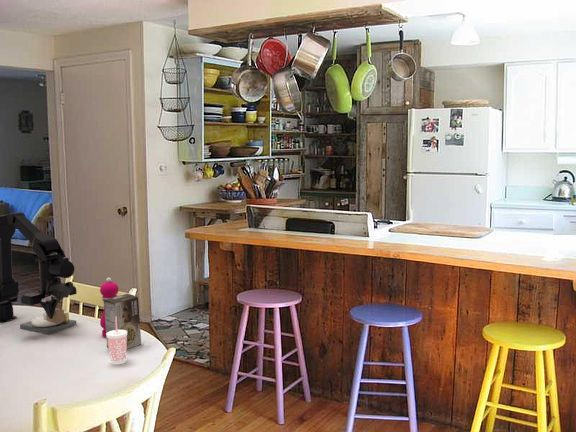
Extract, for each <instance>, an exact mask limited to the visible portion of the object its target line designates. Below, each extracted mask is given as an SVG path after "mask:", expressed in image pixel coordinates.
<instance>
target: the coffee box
mask: <svg viewBox="0 0 576 432" xmlns="http://www.w3.org/2000/svg"><path fill="white" fill-rule="evenodd" d="M104 307H105V322H106V333H107V332H109V331H112V330H116V324H115V316H117V330H126V331H127V349H126V350H128V349H130V348H133V347H136V346H139V344H140V345H142V336H141V335H142V334H141V319H140V305H139V296H136V295H133V294H130V293H125V294H120V295H117V296H116V297H113V298H109V299H105V300H104V302H103V308H104ZM106 336H107V335H106ZM106 348H107V349H108V350H109V346H108V338H107V337H106Z"/></svg>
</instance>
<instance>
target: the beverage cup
mask: <svg viewBox="0 0 576 432" xmlns="http://www.w3.org/2000/svg"><path fill="white" fill-rule="evenodd" d="M115 324H116V330H112V331H109V332H107V333H106V335H107V336H106V337H105V338H106V339H107V338H108V346H109V349H108V353H109V361H110V364H111V365H122V364H124V363H126V362H127V350H128V349H127V331H126V330H117V316H115Z"/></svg>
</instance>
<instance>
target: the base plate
mask: <svg viewBox="0 0 576 432" xmlns="http://www.w3.org/2000/svg"><path fill="white" fill-rule="evenodd" d="M31 321H32V320H30V321H27V322H24V323H21V324H19V329H20V330H24V331H29V332H34V333H39V334H40V333H41V334H46V335H53V334H55V333H57V332H60V331H63V330H66V329H69V328H71V327H74V326H76V325H77V320H74V319H70V318H69V323H68V324H64V323H61V324H58V325H54V326H48V327H36V326H33V325H32V322H31Z"/></svg>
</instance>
